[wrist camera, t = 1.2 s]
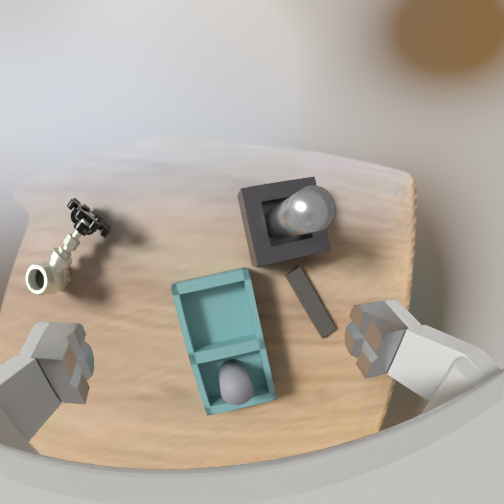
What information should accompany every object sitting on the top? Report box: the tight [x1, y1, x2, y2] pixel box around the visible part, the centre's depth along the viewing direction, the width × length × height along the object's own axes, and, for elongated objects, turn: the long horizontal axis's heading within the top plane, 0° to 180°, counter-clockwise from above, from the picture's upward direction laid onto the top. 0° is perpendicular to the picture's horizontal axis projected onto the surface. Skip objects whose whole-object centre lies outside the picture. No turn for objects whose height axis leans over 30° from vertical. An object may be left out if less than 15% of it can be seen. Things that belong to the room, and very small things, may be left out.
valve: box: [25, 198, 110, 295], centre depth 31 cm, size 7×7×12 cm
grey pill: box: [265, 185, 336, 239], centre depth 31 cm, size 4×4×12 cm
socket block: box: [238, 177, 330, 267], centre depth 36 cm, size 9×9×4 cm
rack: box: [171, 267, 277, 415], centre depth 33 cm, size 17×9×7 cm, turn 12°
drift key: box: [285, 266, 336, 338], centre depth 39 cm, size 10×2×1 cm, turn 32°
